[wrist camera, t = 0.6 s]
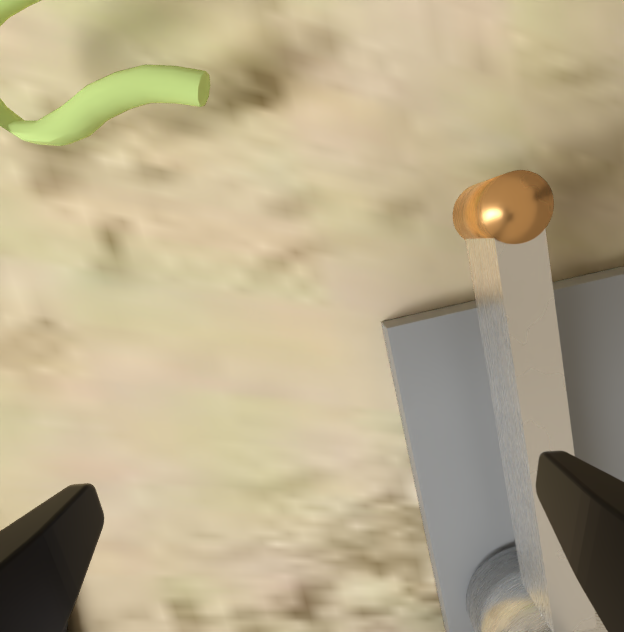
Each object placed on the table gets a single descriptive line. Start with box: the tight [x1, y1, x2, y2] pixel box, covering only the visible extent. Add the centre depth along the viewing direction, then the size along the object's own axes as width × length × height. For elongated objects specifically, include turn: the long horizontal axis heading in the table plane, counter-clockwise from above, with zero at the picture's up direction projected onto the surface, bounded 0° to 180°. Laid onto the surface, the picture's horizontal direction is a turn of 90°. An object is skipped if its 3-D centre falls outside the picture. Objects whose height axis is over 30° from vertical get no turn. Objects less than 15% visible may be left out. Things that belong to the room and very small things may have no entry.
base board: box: [381, 266, 624, 632], centre depth 20 cm, size 18×16×2 cm
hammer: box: [453, 170, 608, 632], centre depth 13 cm, size 23×6×10 cm, turn 13°
